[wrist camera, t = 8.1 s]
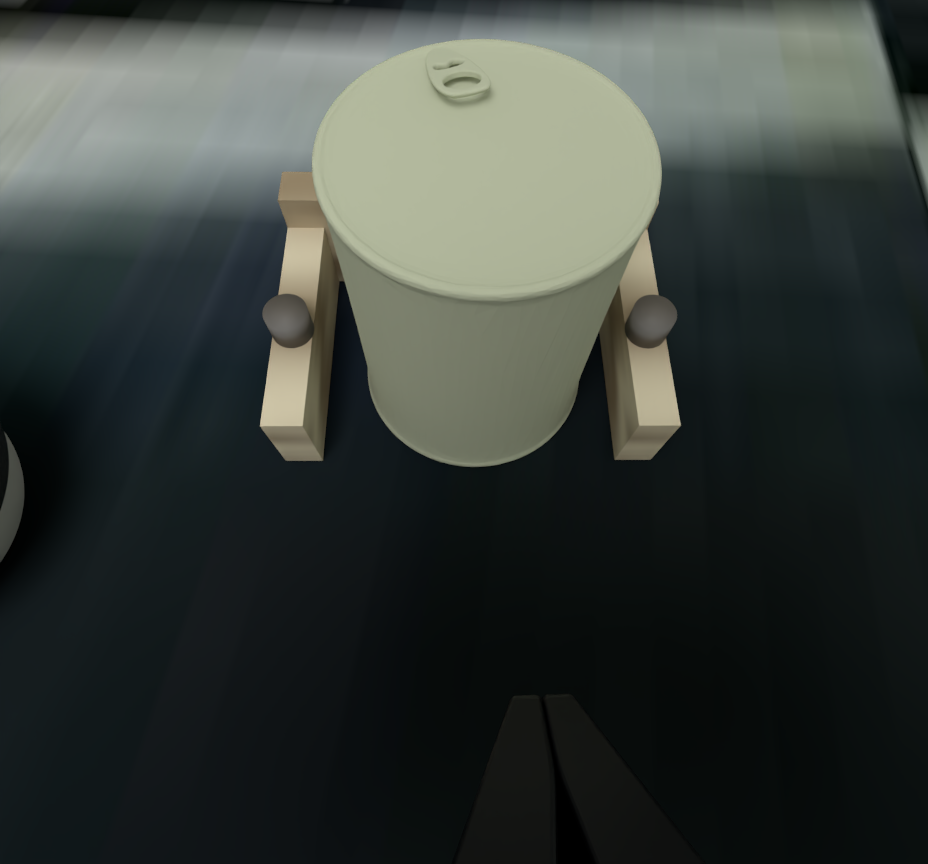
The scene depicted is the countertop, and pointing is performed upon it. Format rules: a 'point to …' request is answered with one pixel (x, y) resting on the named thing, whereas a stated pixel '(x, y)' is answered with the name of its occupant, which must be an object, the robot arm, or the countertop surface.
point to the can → (482, 235)
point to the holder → (313, 328)
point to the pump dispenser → (9, 493)
